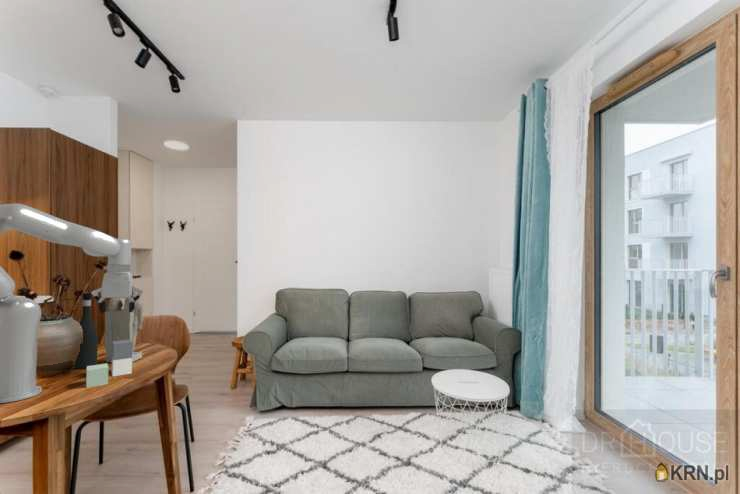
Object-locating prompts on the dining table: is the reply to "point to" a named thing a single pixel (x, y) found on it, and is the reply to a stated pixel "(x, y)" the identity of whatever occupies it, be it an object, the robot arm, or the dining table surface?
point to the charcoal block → (122, 349)
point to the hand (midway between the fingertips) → (117, 312)
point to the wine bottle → (87, 337)
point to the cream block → (121, 366)
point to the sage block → (97, 375)
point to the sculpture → (122, 325)
